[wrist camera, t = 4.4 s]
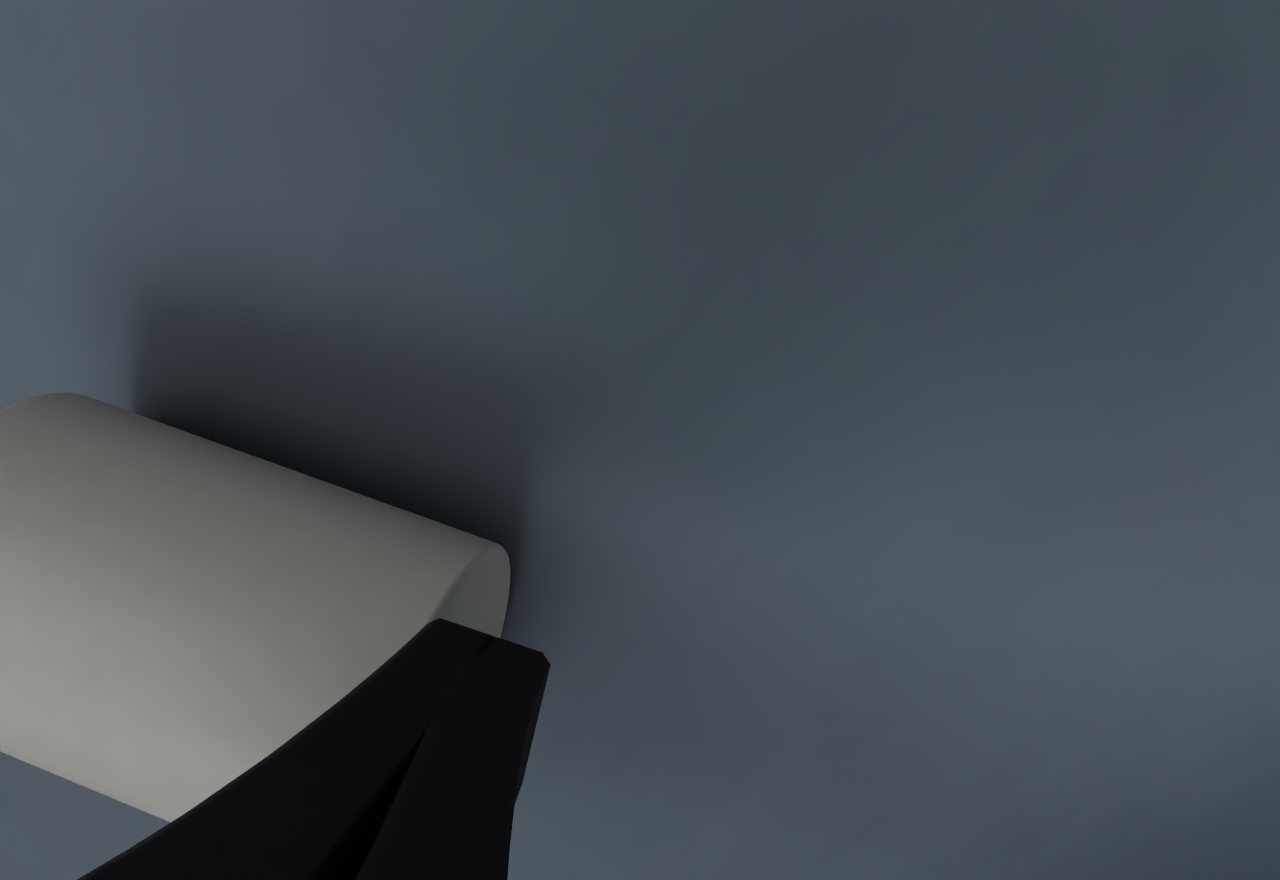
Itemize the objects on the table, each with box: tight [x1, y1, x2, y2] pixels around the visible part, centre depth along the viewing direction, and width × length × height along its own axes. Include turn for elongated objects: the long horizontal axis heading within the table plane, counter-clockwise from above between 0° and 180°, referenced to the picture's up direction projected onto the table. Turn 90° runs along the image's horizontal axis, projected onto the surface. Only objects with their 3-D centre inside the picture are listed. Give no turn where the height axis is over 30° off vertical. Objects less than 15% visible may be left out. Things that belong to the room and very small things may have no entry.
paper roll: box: [0, 393, 510, 822], centre depth 13 cm, size 6×4×4 cm
